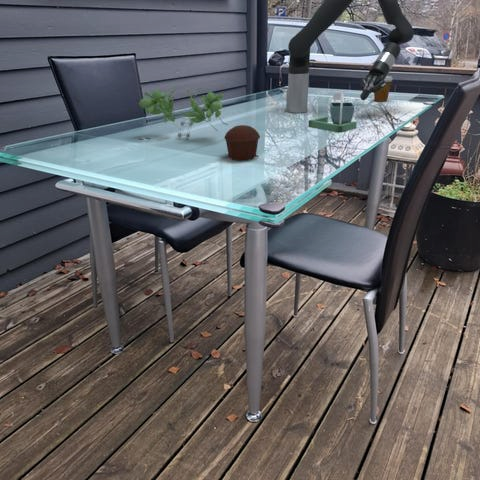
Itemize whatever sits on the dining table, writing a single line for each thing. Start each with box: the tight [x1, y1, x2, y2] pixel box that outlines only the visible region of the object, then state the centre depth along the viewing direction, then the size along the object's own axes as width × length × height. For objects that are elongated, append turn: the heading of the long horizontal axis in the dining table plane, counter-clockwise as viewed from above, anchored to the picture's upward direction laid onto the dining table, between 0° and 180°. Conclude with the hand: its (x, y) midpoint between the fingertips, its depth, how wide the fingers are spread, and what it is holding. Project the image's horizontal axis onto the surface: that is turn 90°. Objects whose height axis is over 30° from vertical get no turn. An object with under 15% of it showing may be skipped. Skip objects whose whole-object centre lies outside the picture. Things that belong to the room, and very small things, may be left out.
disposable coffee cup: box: [373, 75, 394, 103], centre depth 234 cm, size 10×10×12 cm
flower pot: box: [329, 102, 355, 125], centre depth 185 cm, size 9×9×9 cm
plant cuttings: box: [138, 88, 229, 141], centre depth 176 cm, size 35×17×22 cm
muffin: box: [223, 124, 261, 162], centre depth 150 cm, size 12×11×10 cm
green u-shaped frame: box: [307, 92, 358, 133], centre depth 183 cm, size 16×10×14 cm, turn 41°
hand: (362, 98), depth 195 cm, fingers closed
